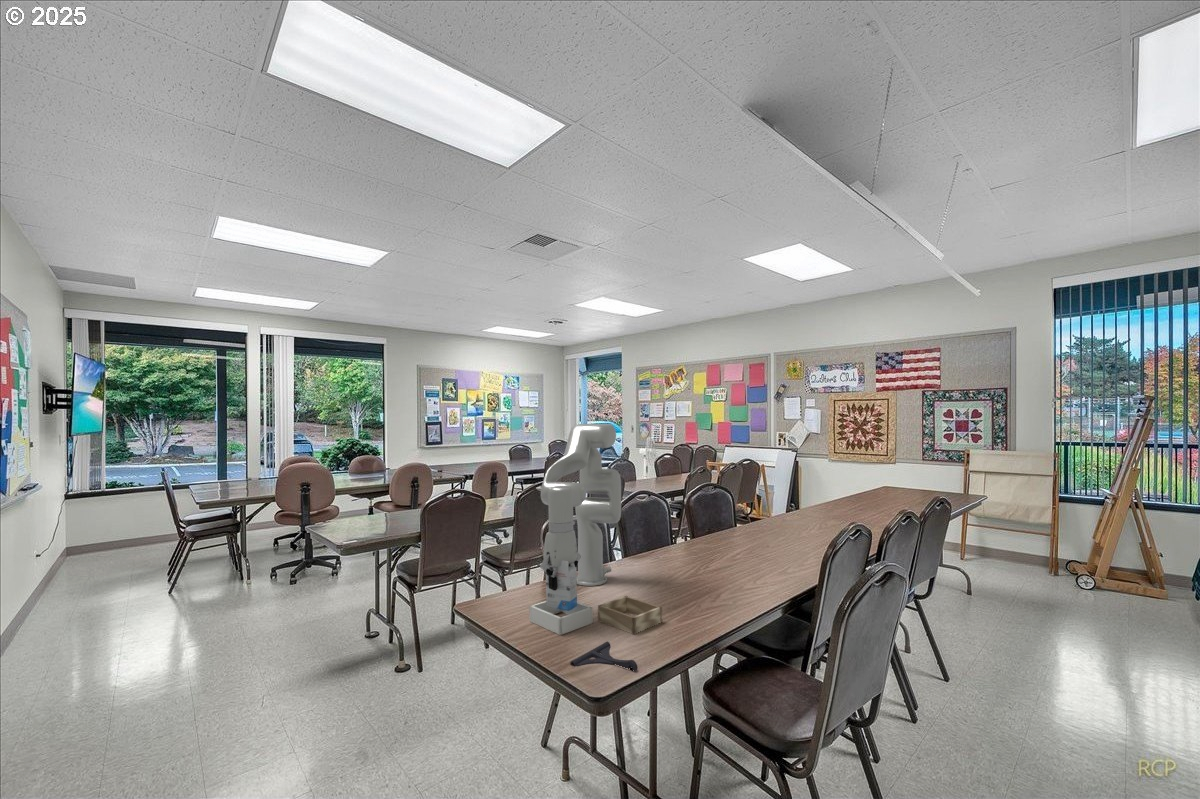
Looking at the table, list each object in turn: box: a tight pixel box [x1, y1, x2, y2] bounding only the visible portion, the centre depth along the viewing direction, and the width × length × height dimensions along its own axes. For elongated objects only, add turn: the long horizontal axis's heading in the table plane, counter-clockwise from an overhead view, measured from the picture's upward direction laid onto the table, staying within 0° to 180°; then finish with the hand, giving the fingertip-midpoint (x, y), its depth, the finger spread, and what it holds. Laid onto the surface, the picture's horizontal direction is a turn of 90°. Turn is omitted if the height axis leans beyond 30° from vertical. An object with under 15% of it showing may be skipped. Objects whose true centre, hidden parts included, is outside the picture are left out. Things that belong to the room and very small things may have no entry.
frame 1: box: [528, 600, 594, 636], centre depth 153 cm, size 13×15×4 cm
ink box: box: [545, 560, 578, 611], centre depth 154 cm, size 9×5×15 cm, turn 62°
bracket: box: [569, 641, 638, 672], centre depth 127 cm, size 14×15×3 cm
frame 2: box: [597, 595, 663, 635], centre depth 153 cm, size 13×15×4 cm
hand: (561, 585), depth 154 cm, fingers closed on ink box, 6 cm apart
